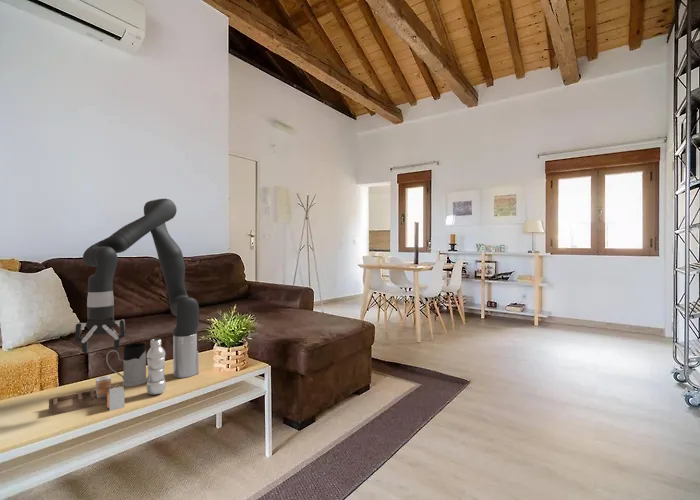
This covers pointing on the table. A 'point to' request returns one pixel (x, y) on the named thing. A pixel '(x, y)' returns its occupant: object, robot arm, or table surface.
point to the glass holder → (133, 364)
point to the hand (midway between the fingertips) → (101, 351)
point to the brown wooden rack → (81, 398)
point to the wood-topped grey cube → (115, 398)
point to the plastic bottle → (156, 368)
